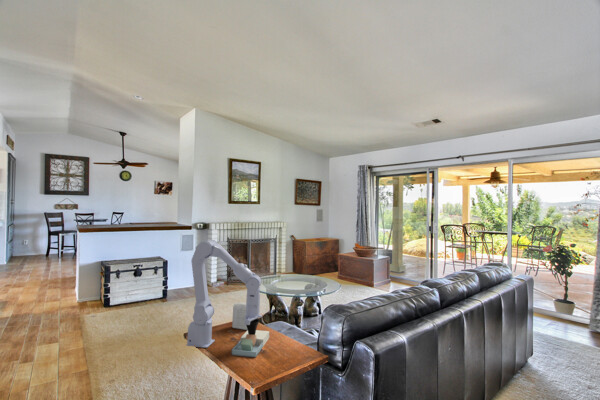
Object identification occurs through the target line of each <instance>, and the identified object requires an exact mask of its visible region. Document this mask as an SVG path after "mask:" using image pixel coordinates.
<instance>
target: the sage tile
mask: <svg viewBox="0 0 600 400" xmlns="http://www.w3.org/2000/svg"><path fill="white" fill-rule="evenodd" d="M241 348H242V350H243V351H252V348H253V342H252V340H251V339H242V342H241Z"/></svg>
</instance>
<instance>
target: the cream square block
mask: <svg viewBox="0 0 600 400" xmlns="http://www.w3.org/2000/svg"><path fill="white" fill-rule="evenodd" d="M247 334H248V330H246V331H245V333H243V334H242V336H241V337H240V340H241V342H242V339H245V338H246V335H247ZM255 335H256V338H257V340H256V343H255V345H257V346H260V344H261V343H262V342H263V347H264V346H265V344H266V343H267V342H268V340H269V339H270V331H268V330H259V329H256V333H255Z"/></svg>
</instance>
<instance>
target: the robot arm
mask: <svg viewBox="0 0 600 400" xmlns="http://www.w3.org/2000/svg"><path fill="white" fill-rule="evenodd" d="M210 257H214V258H219V259H221V261H223V262H224V263H225V264H226V265H228V266H229V268H231V269H232V271H233V275H235V276H236V278H238V279H239V280H240V281H241V282H242V283H244V284H245V288H246V301H245V303H246V315H245V325H246V326H247V329H248V334H251V335H255V333H256V330H257V328H258V325H259V322H260V321H261V319H260V318H262V317H263V314H260V313H261V311H260V307H261V293H260V292H261V287H260V286H261V284H262V279H261V277H260V275H258V274H256V273H255V272H253V271H252V270H250V268H248V265H247V264H244V263H242V262H240V263H239V262H238V261H237V260H236V259H235V258H234V257H233V256H232V255H231V254H230V253H229V252H228V251H227V250H226V249H225V248H224V247H223V246H222V244H220V243H219V242H217V241H216V240H215V239H208V240H203V241H200V242H199V243H198V244H197V245H196V246H195V250H194V253H193V255H192V257H191V267H192V269H191V270H192V276H193V286H194V294H195V304H194V306H193V308H194V309H193V310H194V312H193V315H192V319H193V321H191V322H190V323H189V325H188V328H187V339H186V344H185V345H186V346H188V347H195V348H205V349H207V348H209V347H210V346H211V345H212V344H213V343H215V341H216V340H215V339H213V338H212V334H213V333H212V331H213V318H212V317H213V315H215V308H214V306H213V305H212V301H211V299H210V297H209V291H208V289H209V288H208V284H207V283H208V282H207V281H208V280H207V274H206V273H207V271H206V265H205V262H206V261H207V260H208V259H209V258H210ZM194 345H195V346H194Z"/></svg>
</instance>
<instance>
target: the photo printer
mask: <svg viewBox="0 0 600 400" xmlns="http://www.w3.org/2000/svg"><path fill="white" fill-rule="evenodd" d="M245 315H246V302H241V301H240V302H236V303H234V304H233V306H232V321H231V325H232V328H233V329H238V330H246V331H247V330H248V329H247V326H246V325H245Z"/></svg>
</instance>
